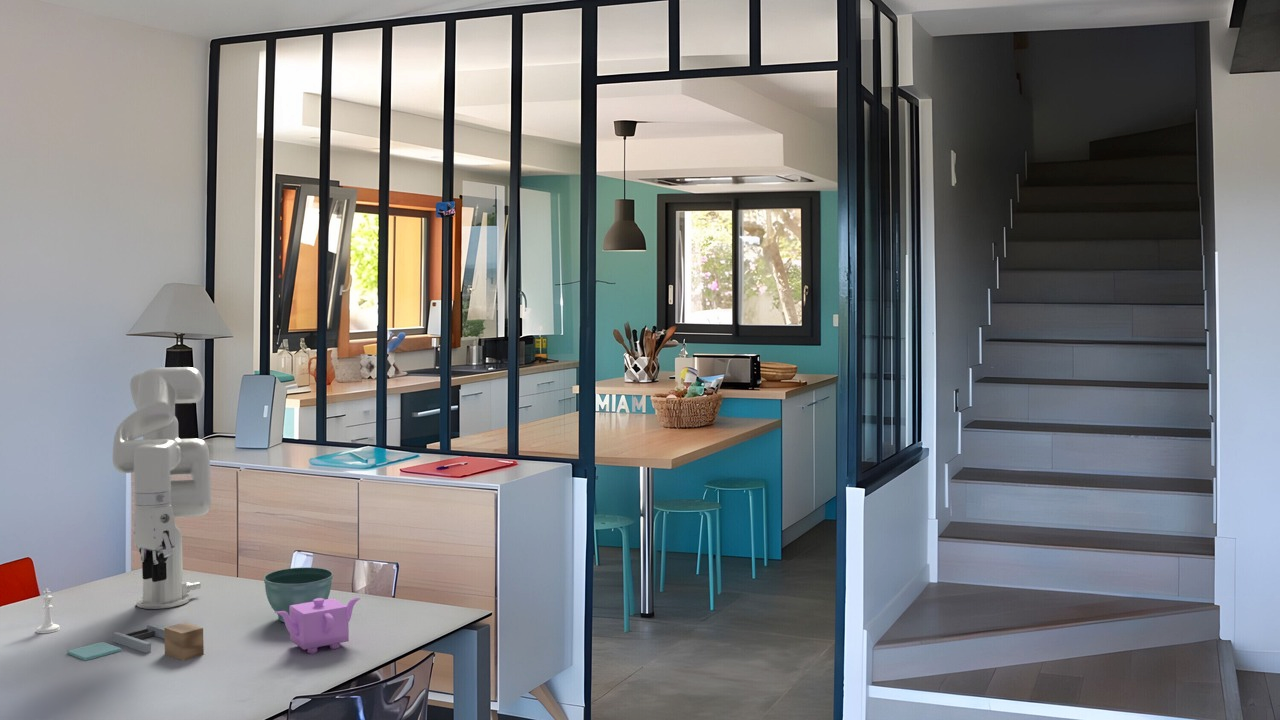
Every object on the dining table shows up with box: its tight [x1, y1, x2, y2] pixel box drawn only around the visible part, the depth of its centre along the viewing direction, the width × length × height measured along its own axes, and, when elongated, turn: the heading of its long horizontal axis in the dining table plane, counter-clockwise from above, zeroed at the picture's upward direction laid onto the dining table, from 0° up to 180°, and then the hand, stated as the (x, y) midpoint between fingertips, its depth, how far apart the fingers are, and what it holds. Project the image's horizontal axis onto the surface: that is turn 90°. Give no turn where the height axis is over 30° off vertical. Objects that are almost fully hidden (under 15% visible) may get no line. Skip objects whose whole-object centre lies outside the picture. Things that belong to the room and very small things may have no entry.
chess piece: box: [36, 588, 61, 634], centre depth 256 cm, size 5×5×10 cm
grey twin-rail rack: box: [112, 623, 165, 654], centre depth 247 cm, size 9×14×2 cm, turn 54°
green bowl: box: [263, 566, 334, 623], centre depth 266 cm, size 16×16×11 cm
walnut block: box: [163, 622, 205, 661], centre depth 239 cm, size 5×7×6 cm
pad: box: [66, 641, 122, 661], centre depth 240 cm, size 8×8×1 cm
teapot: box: [274, 597, 362, 654], centre depth 244 cm, size 15×13×11 cm
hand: (154, 578), depth 245 cm, fingers open, 3 cm apart
